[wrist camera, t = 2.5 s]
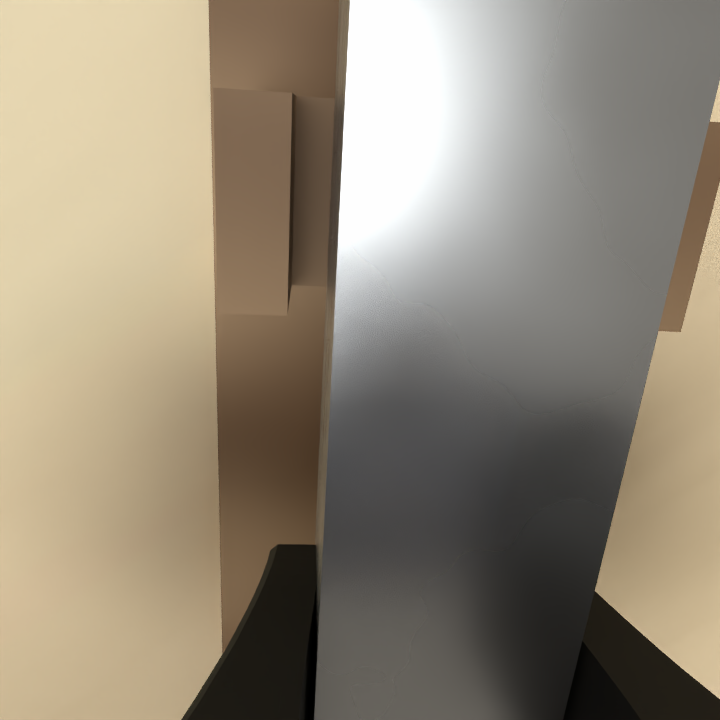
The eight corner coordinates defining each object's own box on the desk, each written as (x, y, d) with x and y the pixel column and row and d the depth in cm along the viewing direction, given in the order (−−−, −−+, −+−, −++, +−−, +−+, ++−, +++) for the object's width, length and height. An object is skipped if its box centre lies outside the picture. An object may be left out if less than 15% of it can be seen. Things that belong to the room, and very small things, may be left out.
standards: (478, 766, 18) (538, 1005, 13) (229, 770, 17) (196, 1022, 13) (631, -55, 11) (886, -189, 6) (214, -93, 10) (121, -278, 5)
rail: (442, 926, 14) (479, 1162, 11) (288, 933, 14) (280, 1178, 11) (628, -110, 7) (877, -285, 4) (326, -140, 7) (336, -354, 4)
